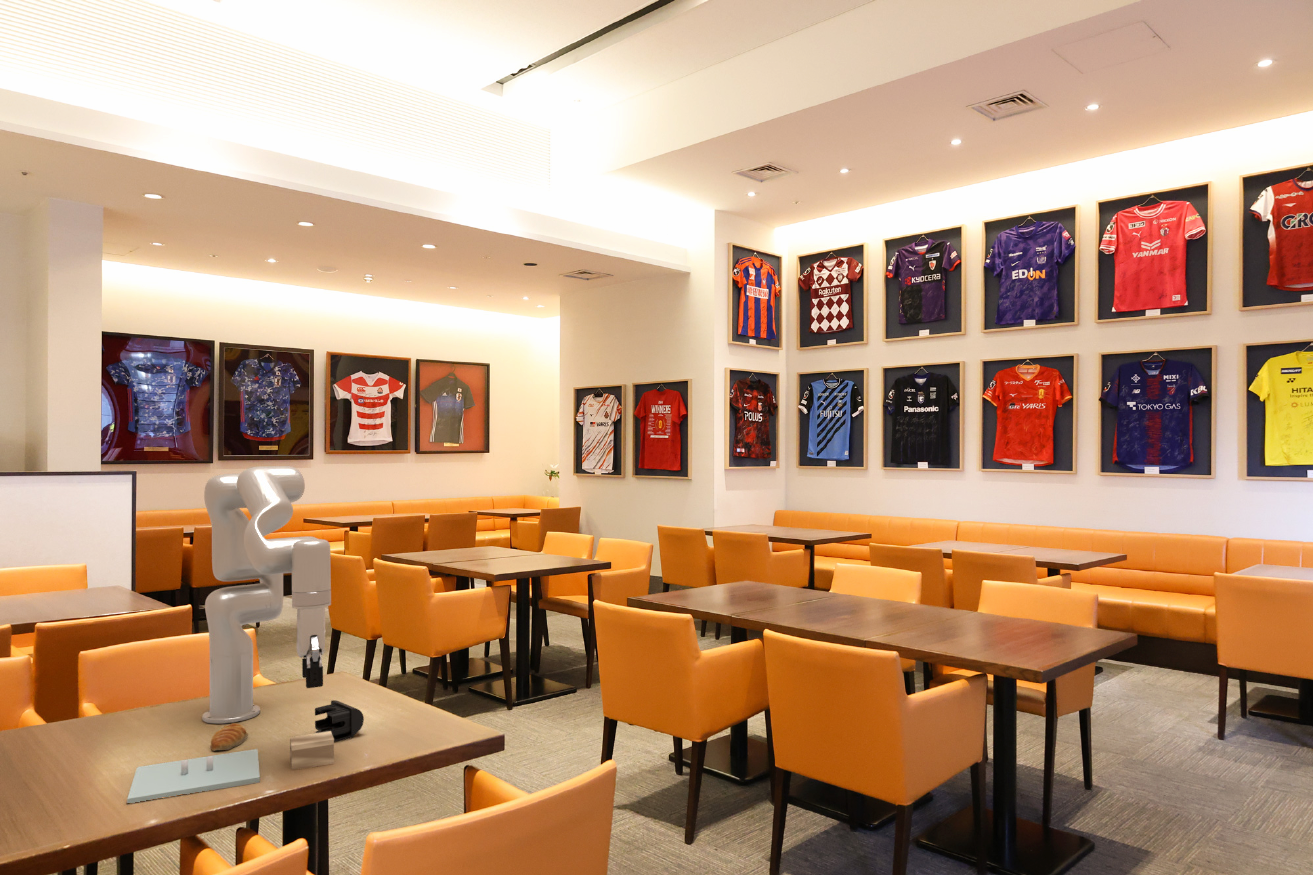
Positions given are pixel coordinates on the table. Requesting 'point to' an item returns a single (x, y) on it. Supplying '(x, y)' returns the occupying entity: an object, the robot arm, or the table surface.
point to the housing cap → (311, 750)
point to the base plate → (194, 775)
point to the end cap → (339, 720)
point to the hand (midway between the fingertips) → (312, 681)
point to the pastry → (229, 737)
